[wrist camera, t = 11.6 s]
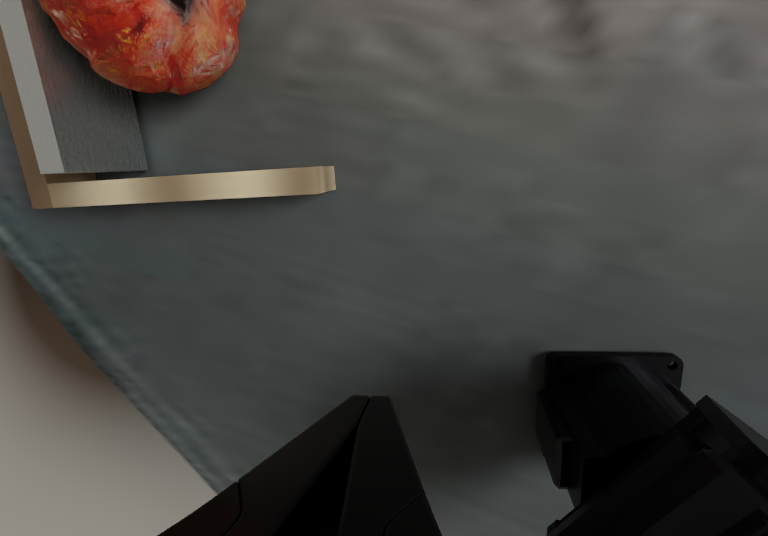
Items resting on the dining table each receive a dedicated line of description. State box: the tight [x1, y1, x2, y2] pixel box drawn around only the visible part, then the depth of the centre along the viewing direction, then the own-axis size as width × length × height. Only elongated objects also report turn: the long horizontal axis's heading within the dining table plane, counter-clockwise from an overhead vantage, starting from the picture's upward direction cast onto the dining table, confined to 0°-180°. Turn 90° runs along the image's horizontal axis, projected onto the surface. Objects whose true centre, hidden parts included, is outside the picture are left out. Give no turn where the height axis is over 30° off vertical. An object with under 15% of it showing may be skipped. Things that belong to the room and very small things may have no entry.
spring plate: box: [0, 0, 148, 174], centre depth 18 cm, size 1×10×5 cm, turn 4°
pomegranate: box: [39, 0, 246, 95], centre depth 17 cm, size 7×7×10 cm
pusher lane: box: [0, 25, 336, 209], centre depth 19 cm, size 15×13×3 cm
